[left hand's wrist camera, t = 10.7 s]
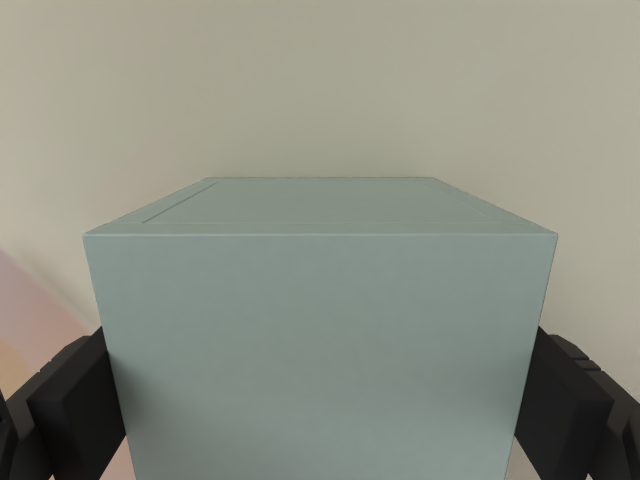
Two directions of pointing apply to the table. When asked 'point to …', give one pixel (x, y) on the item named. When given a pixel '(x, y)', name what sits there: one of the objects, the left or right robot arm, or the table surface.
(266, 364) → the cabinet
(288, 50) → the table surface
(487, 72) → the table surface
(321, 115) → the table surface
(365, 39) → the table surface
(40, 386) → the left robot arm
